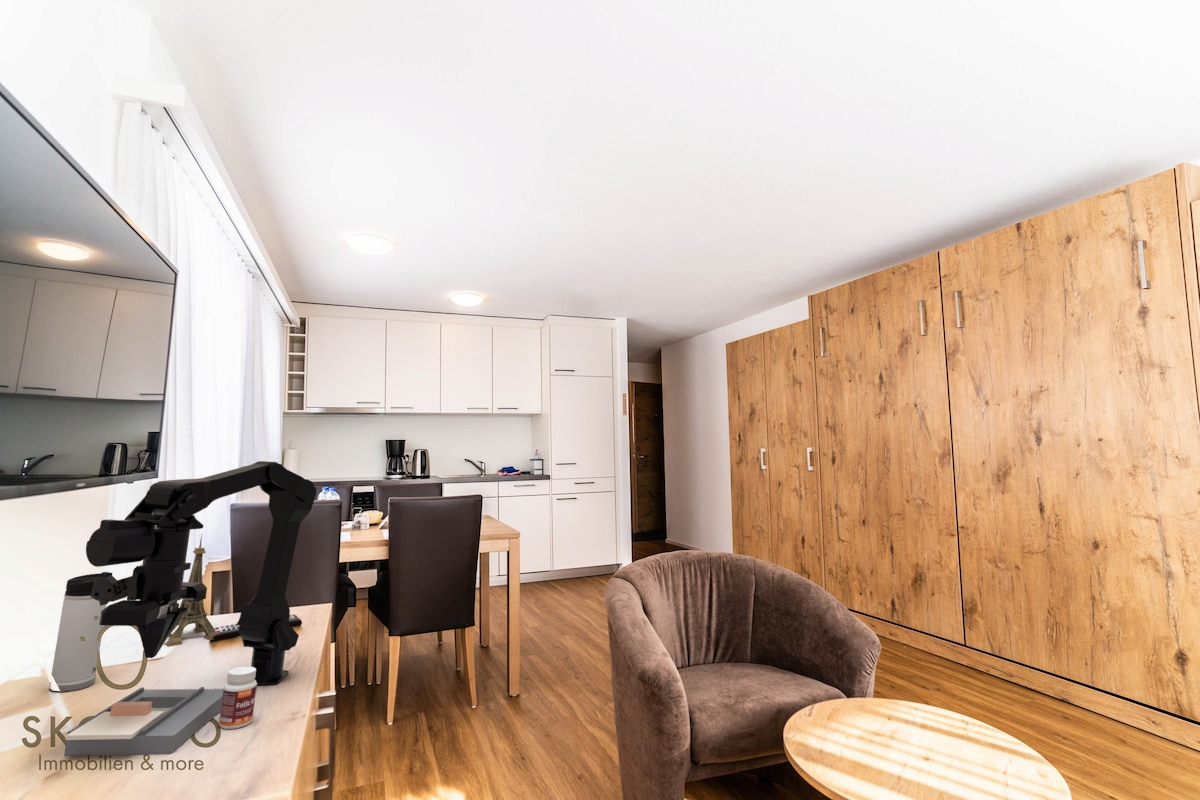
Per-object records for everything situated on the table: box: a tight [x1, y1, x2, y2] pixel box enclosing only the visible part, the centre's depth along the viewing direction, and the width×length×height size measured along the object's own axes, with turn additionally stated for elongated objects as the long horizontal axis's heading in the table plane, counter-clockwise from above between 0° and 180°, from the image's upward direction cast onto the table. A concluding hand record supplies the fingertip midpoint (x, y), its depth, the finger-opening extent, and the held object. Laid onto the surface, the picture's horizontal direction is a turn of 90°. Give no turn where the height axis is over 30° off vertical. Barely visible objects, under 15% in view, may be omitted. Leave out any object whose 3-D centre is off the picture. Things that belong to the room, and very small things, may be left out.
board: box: [63, 686, 224, 757], centre depth 92 cm, size 18×14×3 cm
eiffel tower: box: [163, 534, 218, 648], centre depth 139 cm, size 11×11×25 cm
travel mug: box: [51, 571, 113, 693], centre depth 107 cm, size 6×7×20 cm
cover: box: [65, 701, 164, 741], centre depth 86 cm, size 8×8×2 cm
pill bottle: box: [218, 666, 258, 730], centre depth 95 cm, size 5×5×8 cm
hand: (150, 657), depth 93 cm, fingers closed
